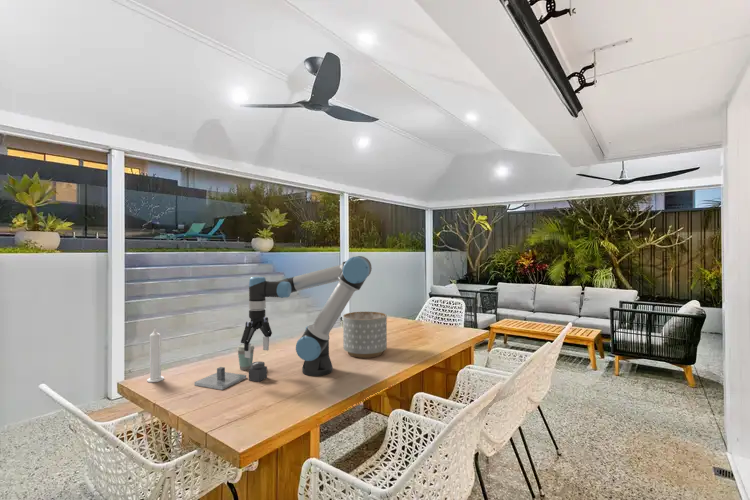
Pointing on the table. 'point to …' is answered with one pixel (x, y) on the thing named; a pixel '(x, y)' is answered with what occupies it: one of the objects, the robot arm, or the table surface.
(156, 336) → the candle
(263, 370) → the knob
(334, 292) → the robot arm
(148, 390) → the table surface
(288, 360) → the table surface
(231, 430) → the table surface
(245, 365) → the coffee cup
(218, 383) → the grey square plate
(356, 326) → the planter
